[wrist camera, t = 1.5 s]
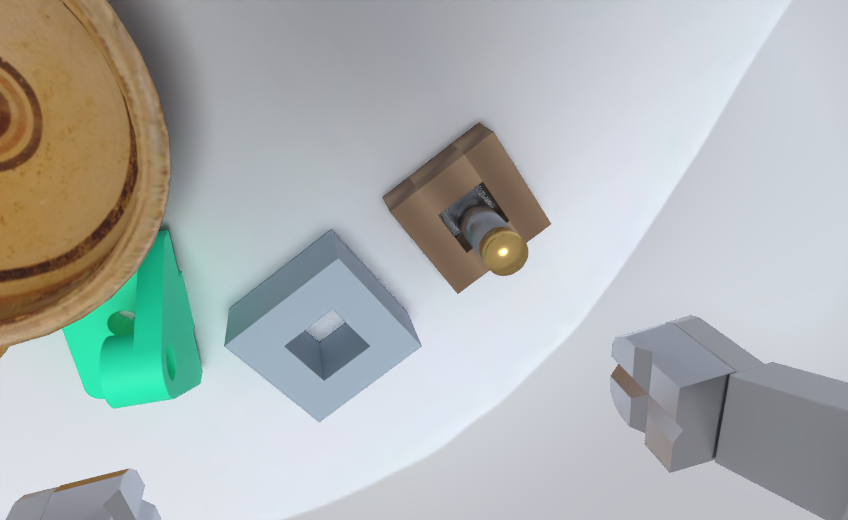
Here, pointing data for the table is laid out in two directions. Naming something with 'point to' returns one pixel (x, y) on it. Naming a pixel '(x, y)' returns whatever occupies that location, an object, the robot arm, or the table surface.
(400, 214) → the pin mount
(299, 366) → the dock
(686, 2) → the table surface
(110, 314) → the camera mount
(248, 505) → the table surface
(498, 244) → the lock pin
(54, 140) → the ceramic bowl
